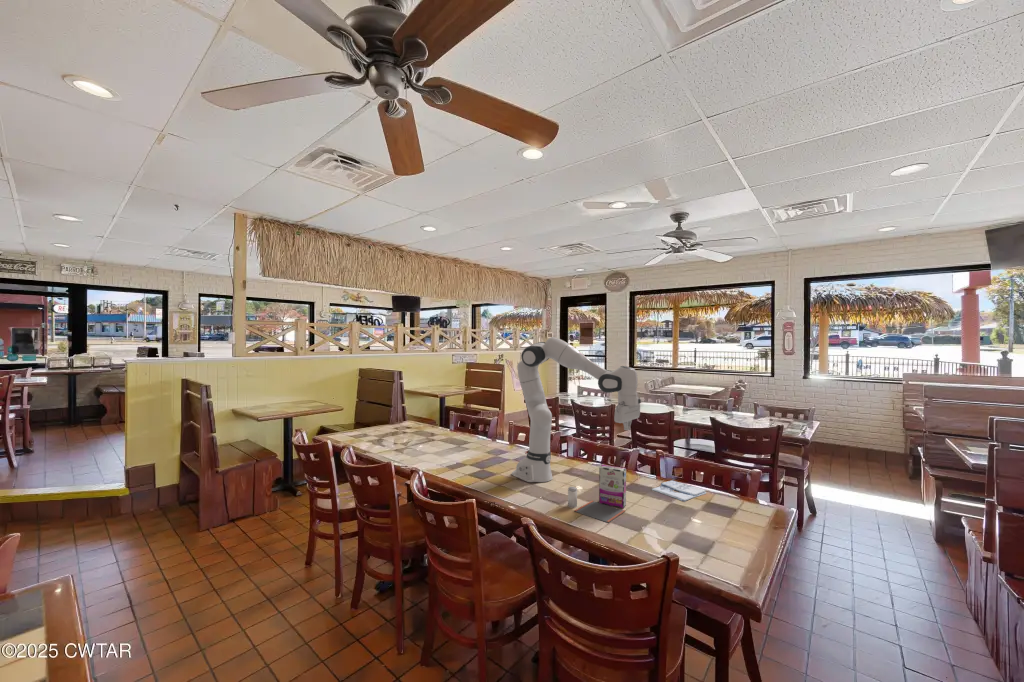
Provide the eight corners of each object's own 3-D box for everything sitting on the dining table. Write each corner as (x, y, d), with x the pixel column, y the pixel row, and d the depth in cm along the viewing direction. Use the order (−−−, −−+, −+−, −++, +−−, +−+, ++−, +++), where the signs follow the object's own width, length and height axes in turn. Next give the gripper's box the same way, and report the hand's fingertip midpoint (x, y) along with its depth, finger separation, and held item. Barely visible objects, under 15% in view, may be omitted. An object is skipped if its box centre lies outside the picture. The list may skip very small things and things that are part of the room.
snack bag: (707, 494, 196) (707, 490, 196) (683, 503, 185) (683, 498, 185) (672, 482, 212) (672, 478, 212) (648, 490, 201) (648, 486, 201)
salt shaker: (565, 505, 178) (566, 488, 178) (570, 503, 181) (571, 485, 181) (573, 508, 176) (573, 490, 176) (578, 505, 179) (578, 488, 179)
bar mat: (574, 511, 173) (574, 510, 173) (592, 501, 184) (592, 500, 184) (608, 523, 162) (608, 521, 162) (625, 511, 173) (625, 510, 173)
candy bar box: (626, 504, 181) (626, 468, 181) (623, 508, 176) (624, 471, 176) (601, 499, 186) (602, 464, 186) (598, 503, 182) (599, 466, 182)
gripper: (623, 403, 182) (623, 434, 182) (642, 399, 197) (642, 427, 197) (611, 402, 186) (610, 432, 186) (630, 398, 201) (630, 425, 201)
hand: (627, 429), depth 192 cm, fingers closed
